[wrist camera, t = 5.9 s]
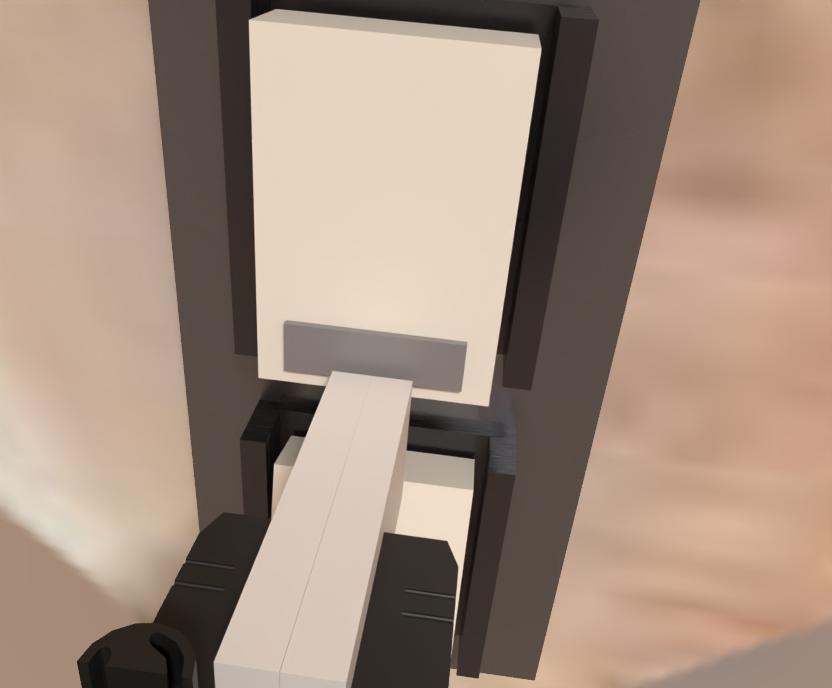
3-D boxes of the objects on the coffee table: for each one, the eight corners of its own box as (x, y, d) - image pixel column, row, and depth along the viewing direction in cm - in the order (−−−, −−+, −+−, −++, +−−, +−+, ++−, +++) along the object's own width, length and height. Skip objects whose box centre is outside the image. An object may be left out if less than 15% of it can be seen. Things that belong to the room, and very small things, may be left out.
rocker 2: (291, 435, 19) (272, 466, 17) (474, 459, 19) (472, 493, 17) (278, 656, 21) (260, 704, 19) (445, 680, 21) (441, 731, 19)
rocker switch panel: (171, -891, 12) (-66, -1429, 7) (846, -871, 11) (1096, -1439, 6) (248, 539, 27) (191, 679, 22) (532, 578, 27) (535, 730, 22)
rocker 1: (276, 9, 13) (245, 21, 12) (538, 34, 13) (542, 49, 11) (279, 338, 16) (256, 381, 15) (490, 364, 16) (488, 411, 15)
